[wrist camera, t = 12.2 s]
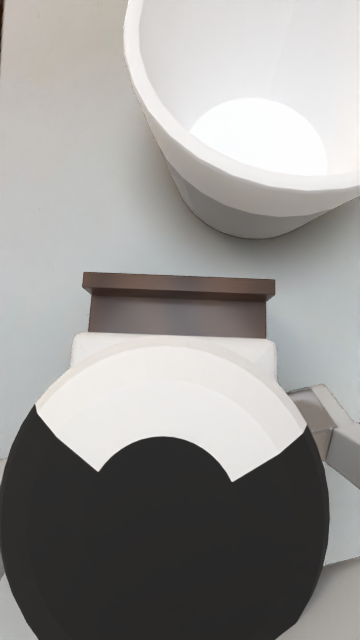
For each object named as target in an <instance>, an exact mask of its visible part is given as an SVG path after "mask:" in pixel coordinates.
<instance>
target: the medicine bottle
mask: <svg viewBox="0 0 360 640" xmlns="http://www.w3.org/2000/svg"><path fill="white" fill-rule="evenodd" d="M329 521H330V515H329V493H328V488H327V482H326V476H325V470H324V466H323V463H322V460H321V457H320V454H319V450H318V447H317V444H316V442H315V440H314V438H313V436H312V433H311V431H310V429H309V427H308V425H307V423H306V421H305V420H304V418H303V416H302V415H301V413H300V412H299V410H298V408H297V407H296V405H295V404H294V402H293V401H292V400H291V399H290V398H289V396H288V395H287V394H286V393H285V391H284V390H283V389H282V388H281V386H279V385H278V383H277V348H276V345H275V344H274V343H273V342H272V341H271V340H268V339H258V338H232V337H205V336H178V335H151V334H124V333H98V332H82V333H79V334H77V335H76V336H75V337H74V339H73V342H72V352H71V362H70V369H68V370H67V371H66V372H65V373H64V374H63V375H61V376H60V377H59V378H58V379H57V380H56V381H55V382H54V383H53V384H52V385H50V387H49V388H48V389H47V390H46V391H45V392H44V394H43V395H42V396H41V397H40V398H39V400H38V401H37V402H36V403H35V405H34V406H33V408H32V409H31V411H30V412H29V414H28V415H27V417H26V419H25V420H24V422H23V423H22V425H21V427H20V429H19V431H18V434H17V436H16V438H15V440H14V442H13V444H12V447H11V450H10V453H9V456H8V459H7V462H6V465H5V468H4V472H3V477H2V482H1V487H0V550H1V555H2V561H3V566H4V570H5V573H6V576H7V579H8V582H9V585H10V588H11V591H12V594H13V596H14V598H15V600H16V602H17V604H18V606H19V608H20V610H21V612H22V614H23V616H24V618H25V620H26V622H27V623H28V625H29V626H30V628H31V629H32V631H33V632H34V634H35V635H36V636H37V638H38V639H39V640H276V639H277V638H278V637H279V636H280V635H282V634H283V633H284V632H286V631H287V630H288V629H289V628H291V627H292V626H293V625H295V624H296V623H297V621H298V619H299V618H300V616H301V614H302V612H303V611H304V609H305V607H306V605H307V604H308V602H309V600H310V598H311V597H312V595H313V592H314V590H315V588H316V585H317V582H318V580H319V577H320V574H321V571H322V568H323V563H324V559H325V554H326V549H327V545H328V533H329Z"/></svg>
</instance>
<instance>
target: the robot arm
mask: <svg viewBox="0 0 360 640" xmlns="http://www.w3.org/2000/svg"><path fill="white" fill-rule="evenodd" d="M285 393H286V394H287V395H288V396H289V398H290V399H291V400H292V401H293V402H294V404H295V405H296V407H297V408H298V410H299V412H300V413H301V415H302V416H303V418H304V420H305V421H306V423H307V425H308V427H309V429H310V431H311V433H312V436H313V438H314V440H315V442H316V444H317V447H318V450H319V454H320V457H321V460H322V462H324V461H326V463H327V464H328V465H330V466H331V467H332V468H333V469H335V470H336V471H337V472H339V473H340V474H341V475H342V476H344V477H345V478H346V479H347V480H349V481H350V482H351V483H353V484H354V485H355V486H356V487H358V488H359V489H360V423H354V422H353V420H352V419H351V418H350V416H349V415H348V414H347V413H346V411H345V410H344V409H343V407H342V406H341V405H340V403H339V402H338V401H337V400H336V398H335V397H334V396H333V394H332V393H331V392H330V390H329V389H328V388H327V387H326V386H325V385H324V384H318V385H314V386H311V387H304V388H301V389H297V390H293V391H289V392H285ZM7 459H8V458H4V459H0V487H1V482H2V477H3V472H4V468H5V465H6V462H7ZM4 573H5V570H4V566H3V561H2V555H1V550H0V579H1V578H2V576H3V574H4ZM276 640H360V556H359V557H355V558H351V559H347V560H343V561H339V562H336V563H332V564H328V565H324V566H323V568H322V571H321V574H320V577H319V580H318V582H317V585H316V588H315V590H314V592H313V595H312V597H311V598H310V600H309V602H308V604H307V605H306V607H305V609H304V611H303V612H302V614H301V616H300V618H299V619H298V621H297V623H296V624H295V625H293V626H292V627H291V628H289V629H288V630H287V631H286V632H284V633H283V634H282V635H280V636H279V637H278V638H277V639H276Z"/></svg>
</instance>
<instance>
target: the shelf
mask: <svg viewBox="0 0 360 640" xmlns="http://www.w3.org/2000/svg"><path fill="white" fill-rule="evenodd" d="M82 287H83V288H84V289H85V290H86V291H87V292H89V293H90V294H91V295H92V296H91V307H90V317H89V328H88V332H98V333H124V334H151V335H178V336H205V337H232V338H258V339H266V302H267V301H268V300H269V299H271V298H272V297H273V296H274V295H275V280H272V279H247V278H223V277H198V276H173V275H148V274H123V273H98V272H84V273H83V283H82Z"/></svg>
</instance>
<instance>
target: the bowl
mask: <svg viewBox="0 0 360 640" xmlns="http://www.w3.org/2000/svg"><path fill="white" fill-rule="evenodd" d="M123 43H124V60H125V63H126V67H127V70H128V74H129V77H130V81H131V84H132V88H133V90H134V92H135V95H136V97H137V99H138V101H139V104H140V106H141V108H142V110H143V113H144V115H145V117H146V119H147V122H148V124H149V126H150V128H151V131H152V133H153V135H154V137H155V139H156V141H157V143H158V145H159V147H160V150H161V152H162V154H163V156H164V159H165V161H166V163H167V166H168V168H169V170H170V172H171V175H172V177H173V179H174V181H175V184H176V186H177V188H178V190H179V192H180V194H181V196H182V198H183V200H184V201H185V203H186V204H187V206H188V207H189V208H190V209H191V210H192V212H193V213H194V214H195V215H196V216H197V217H198V218H200V219H201V220H202V221H203V222H205V223H206V224H207V225H209V226H211V227H213V228H215V229H216V230H218V231H220V232H223V233H226V234H229V235H232V236H235V237H241V238H249V239H261V238H271V237H275V236H279V235H283V234H286V233H288V232H290V231H292V230H294V229H296V228H298V227H300V226H302V225H304V224H306V223H308V222H310V221H312V220H313V219H315V218H317V217H319V216H321V215H323V214H325V213H327V212H329V211H330V210H332V209H334V208H336V207H338V206H340V205H342V204H344V203H346V202H348V201H350V200H352V199H354V198H356V197H358V196H360V0H129V2H128V7H127V12H126V17H125V22H124V27H123Z"/></svg>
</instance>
